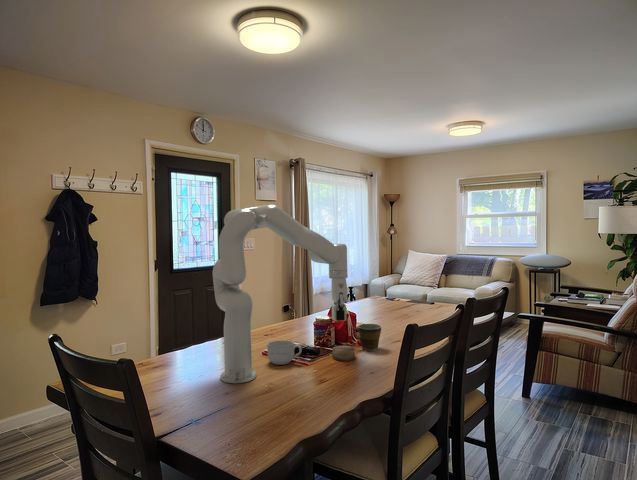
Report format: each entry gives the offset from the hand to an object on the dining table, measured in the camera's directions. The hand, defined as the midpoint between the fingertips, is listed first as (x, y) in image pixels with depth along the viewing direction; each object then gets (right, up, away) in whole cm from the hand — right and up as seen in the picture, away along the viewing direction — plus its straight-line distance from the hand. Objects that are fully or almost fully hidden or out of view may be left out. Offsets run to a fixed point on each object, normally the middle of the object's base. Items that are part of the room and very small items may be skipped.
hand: (339, 318), depth 172 cm
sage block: (0, -1, 0) cm, 1 cm away
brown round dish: (+2, -16, -1) cm, 16 cm away
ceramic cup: (+12, -16, +10) cm, 22 cm away
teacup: (-22, -17, -6) cm, 28 cm away
